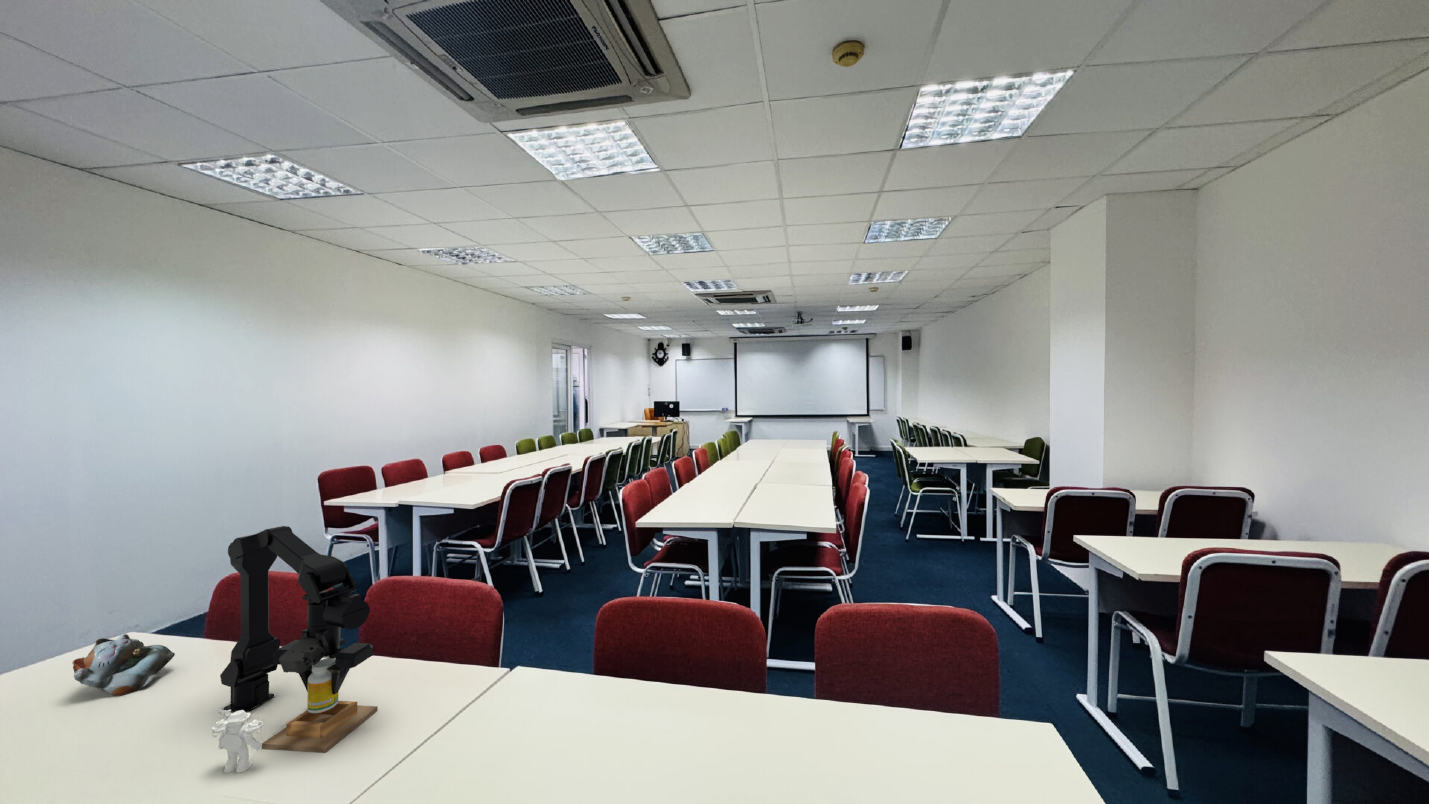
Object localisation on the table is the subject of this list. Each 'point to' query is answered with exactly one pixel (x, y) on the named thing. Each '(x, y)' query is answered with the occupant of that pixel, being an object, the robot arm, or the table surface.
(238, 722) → the flower shoulder figurine
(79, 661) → the lucky cat figurine
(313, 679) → the supplement bottle
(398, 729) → the table surface
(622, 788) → the table surface
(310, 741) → the socket
